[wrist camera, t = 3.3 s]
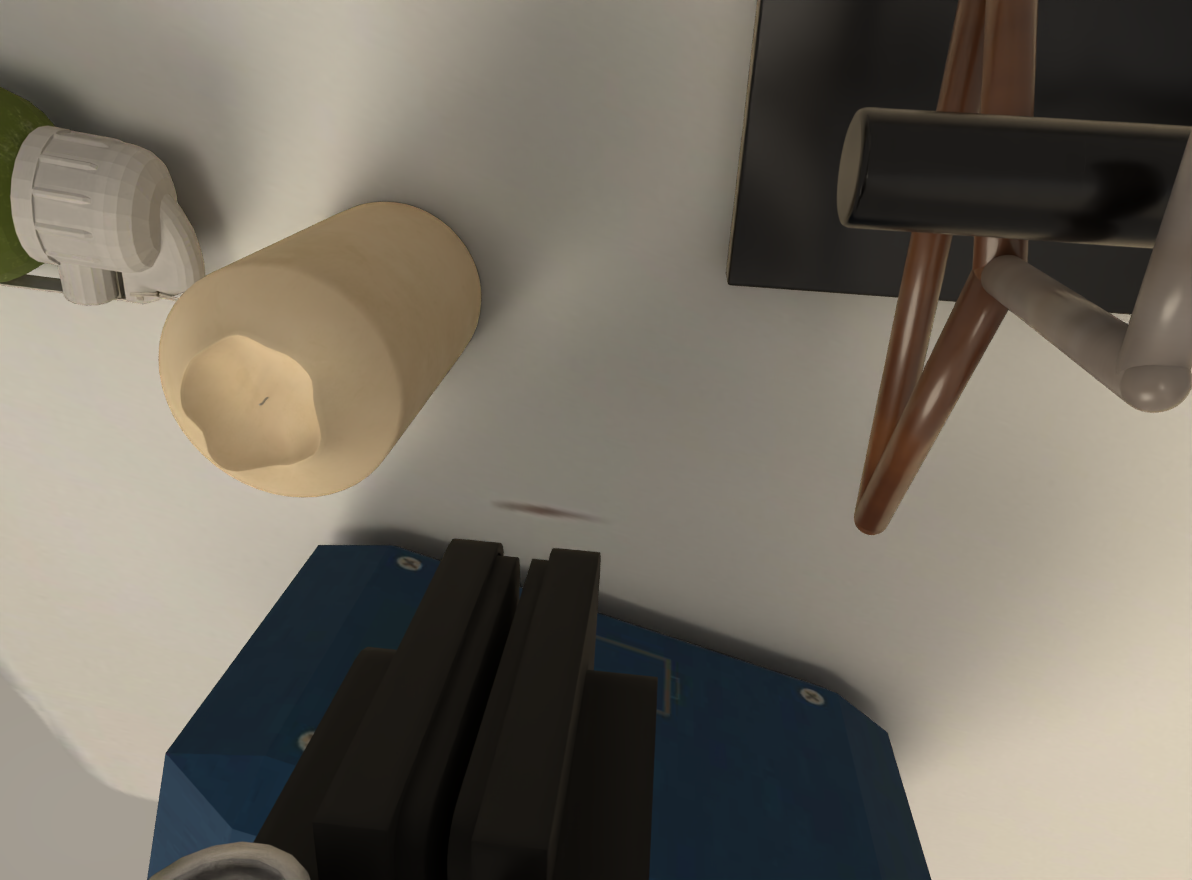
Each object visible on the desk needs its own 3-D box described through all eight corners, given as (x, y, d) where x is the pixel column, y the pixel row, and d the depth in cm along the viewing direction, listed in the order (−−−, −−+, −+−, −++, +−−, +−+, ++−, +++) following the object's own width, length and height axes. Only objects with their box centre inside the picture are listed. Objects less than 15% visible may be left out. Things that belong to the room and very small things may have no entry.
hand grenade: (-222, 319, 23) (173, 376, 24) (-332, 77, 19) (146, 162, 20) (-88, 223, 27) (237, 275, 29) (-155, 12, 23) (224, 85, 25)
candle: (517, 270, 26) (429, 389, 17) (427, 405, 28) (306, 573, 19) (361, 160, 25) (179, 222, 16) (280, 308, 27) (80, 436, 18)
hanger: (994, -204, 13) (1458, -580, 5) (1041, -201, 13) (1577, -578, 5) (848, 522, 18) (970, 870, 11) (881, 525, 18) (1028, 876, 10)
